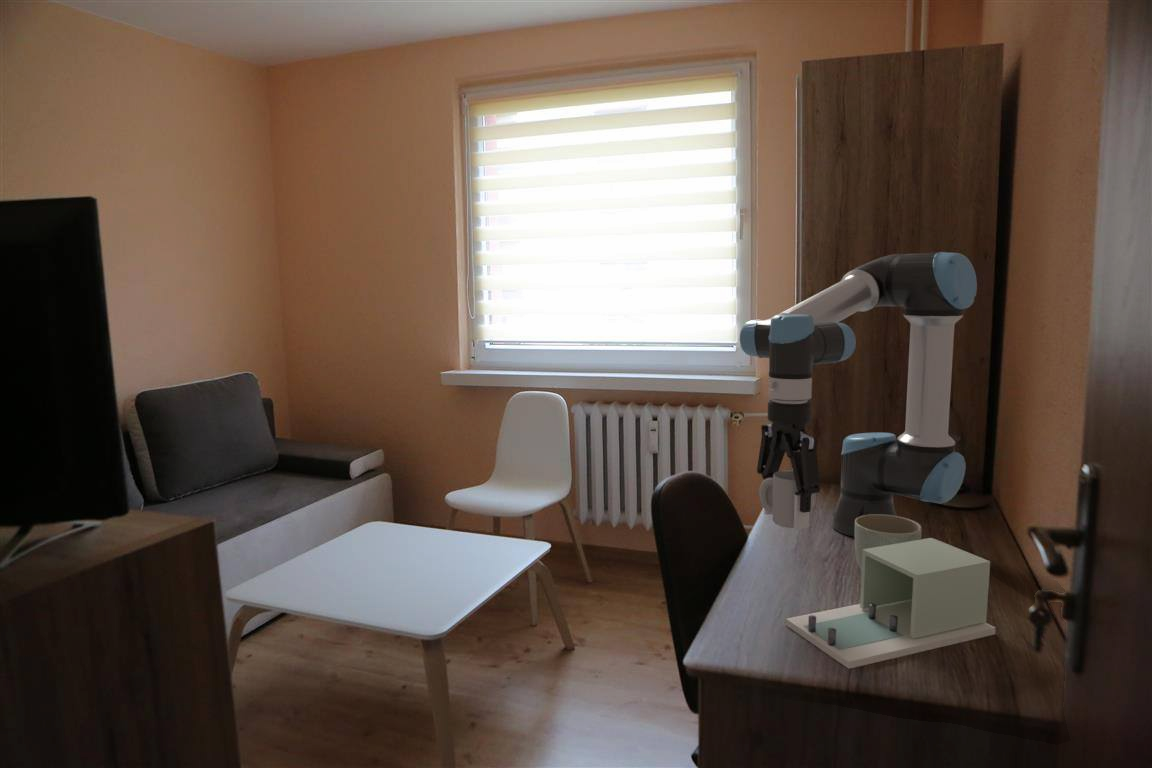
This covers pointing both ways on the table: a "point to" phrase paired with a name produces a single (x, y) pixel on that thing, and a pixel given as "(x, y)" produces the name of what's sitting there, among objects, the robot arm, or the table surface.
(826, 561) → the table surface
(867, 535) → the planter
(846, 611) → the board
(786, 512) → the cup
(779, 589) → the table surface
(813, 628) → the pins
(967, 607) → the hood
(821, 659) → the table surface
